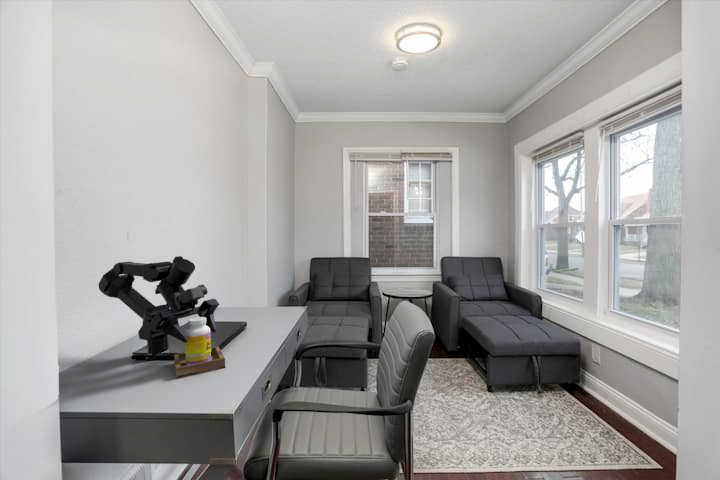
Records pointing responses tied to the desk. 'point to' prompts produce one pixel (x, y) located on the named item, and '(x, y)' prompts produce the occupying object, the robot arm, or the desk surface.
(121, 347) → the desk surface
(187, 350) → the supplement bottle
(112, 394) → the desk surface
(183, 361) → the walnut tray
